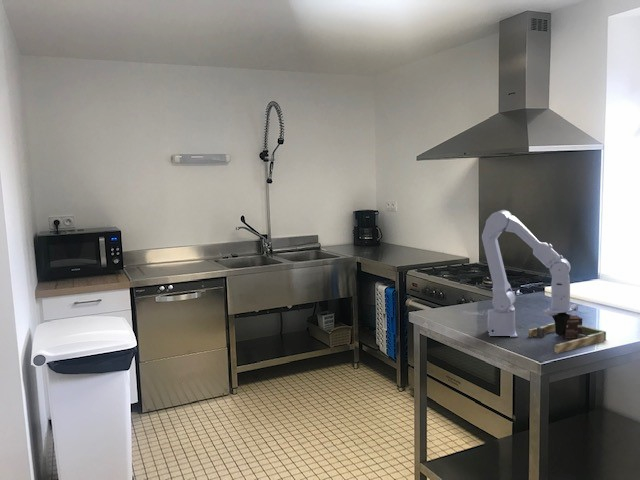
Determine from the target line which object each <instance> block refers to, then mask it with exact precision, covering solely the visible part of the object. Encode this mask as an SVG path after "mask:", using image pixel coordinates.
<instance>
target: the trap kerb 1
mask: <svg viewBox="0 0 640 480" xmlns="http://www.w3.org/2000/svg"><path fill="white" fill-rule="evenodd" d="M541 327H542V326H538V327H537V326H536V328H537V336H536V337H540V338H546V336H545V335H546V334H545V328H541Z"/></svg>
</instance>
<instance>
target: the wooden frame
mask: <svg viewBox="0 0 640 480" xmlns="http://www.w3.org/2000/svg"><path fill="white" fill-rule="evenodd" d="M540 327H541V328H545V335H546V334H550V333H556V330H555V322H552V323H548V324H546V325H542V326H540ZM582 334H583V335H586V337H583V338H580V339H571V340H569V341H565V342H561V343H557V344H554V353H555V352H556V353H555V354H561V353H564V351H565V352H567V351H571V350H575V349H578V348H583V347H586V346H590V345H593V344H597V343H601V342H605V341H607V331H604V330H602V329H597V328H593V327H590V326H586V325H583V324H582ZM533 336H534V337H538V336H537V327H535V328H534V327H533V328H531V329H528V338H534V337H533ZM560 352H561V353H560Z"/></svg>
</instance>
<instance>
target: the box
mask: <svg viewBox="0 0 640 480" xmlns="http://www.w3.org/2000/svg"><path fill="white" fill-rule="evenodd" d="M568 314H569V313H568ZM569 315H570V318H569V319H568V321H567V324H566V333H565V335H562V336H561V335H558V336H559V337H560V338H561V339H562V340H576V339H578V334H582V325H583V318H582V317H580V316H578V315H576V314H569Z"/></svg>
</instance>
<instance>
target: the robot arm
mask: <svg viewBox="0 0 640 480" xmlns="http://www.w3.org/2000/svg"><path fill="white" fill-rule="evenodd" d="M503 231H505V232H509V233H514V234H515V235H517V236H518V237H519V238H520V239H521V240H522V241H523V242H525V243H526V244H527V245H528V246H529V247H530V248H531V249H532V254H533V256H534V257H535V258H536V259H538V260H539V261H540V262H541V263H542V264H543V265H544V266H545V268H547V269H549V274H550V275H551V283H550V284H551V285H550V286H551V290H550V291H551V297H550V298H551V305H550V307H548V308H547V309H544V310H542V317H545V318H550V317H551V318H552V319H553V321H554V323H555V330H556V331H555V335H557V336H559V335H561V336H562V335H565V333H566V324H567V321H568V319H569V318H570V315H569V313H573V312H578V311H579V305H578V304H574V303H573V304H571V281H570V278H571V277H570V271H571V268H572V266H571V263H570V262H569V260H568V259H566V258H564V256H563V255H562V254H559V253H558V252H557V251H556V250H554V248H553V245H552V244H551V243H549V244H548V243H547V242H542V241H539V239H538V238H537V237H536V236H535V235H534V234H533V233H532V232H531V231H530V229H528V228H527V227H526V226H525V224H523V223H522V222H521V221H520V220H519V218H517V217H516V216H515V215H512V213H511V212H510V211H508V210H507V209H501V210H498V211H496V212H493V213H491V214H490V215H489V216H488V218H487V219H486V220H485V225H484V227H483V232H482V234H481V241H482V245H483V249H484V254H485V258H486V261H487V266H488V269H489V273H490V274H489V275H490V277H491V282H492V299H491V300H492V301H491V304H492V307H493V309H492V308H491V309H487V326H486V329H487V333H488V332H489V333H488V336H489V335H490V336H510V337H509V338H518V334H517V331H516V308H515V307H514V304H515V303H516V300H517V296H516V294H515V292H514V291H513V289H512V285H511V284H510V283H509V281H508V278H507V273H506V270H505V265H504V261H503V257H502V253H501V249H500V244H499V241H498V238H499V237H500V236H501V234H502V233H503ZM490 336H489V337H490Z"/></svg>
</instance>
